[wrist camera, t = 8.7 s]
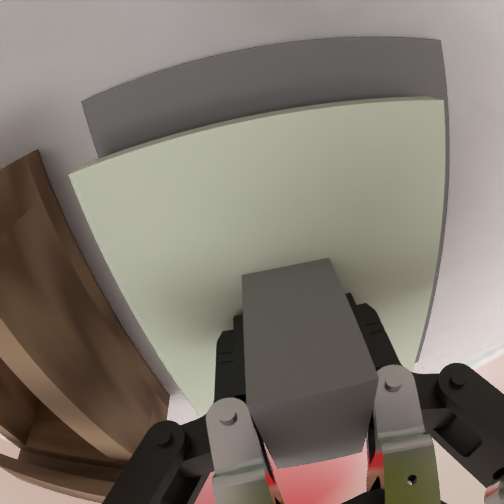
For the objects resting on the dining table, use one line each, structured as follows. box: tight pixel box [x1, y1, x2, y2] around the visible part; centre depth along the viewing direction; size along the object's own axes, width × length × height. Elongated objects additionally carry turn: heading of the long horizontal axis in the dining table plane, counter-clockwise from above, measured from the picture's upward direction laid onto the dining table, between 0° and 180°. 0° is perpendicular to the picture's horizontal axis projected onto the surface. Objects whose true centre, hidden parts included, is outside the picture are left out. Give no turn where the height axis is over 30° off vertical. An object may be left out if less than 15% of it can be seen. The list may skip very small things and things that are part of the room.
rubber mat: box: [81, 37, 449, 363], centre depth 14 cm, size 19×14×1 cm
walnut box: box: [0, 150, 170, 503], centre depth 12 cm, size 17×12×8 cm
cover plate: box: [69, 96, 445, 469], centre depth 10 cm, size 15×12×6 cm
